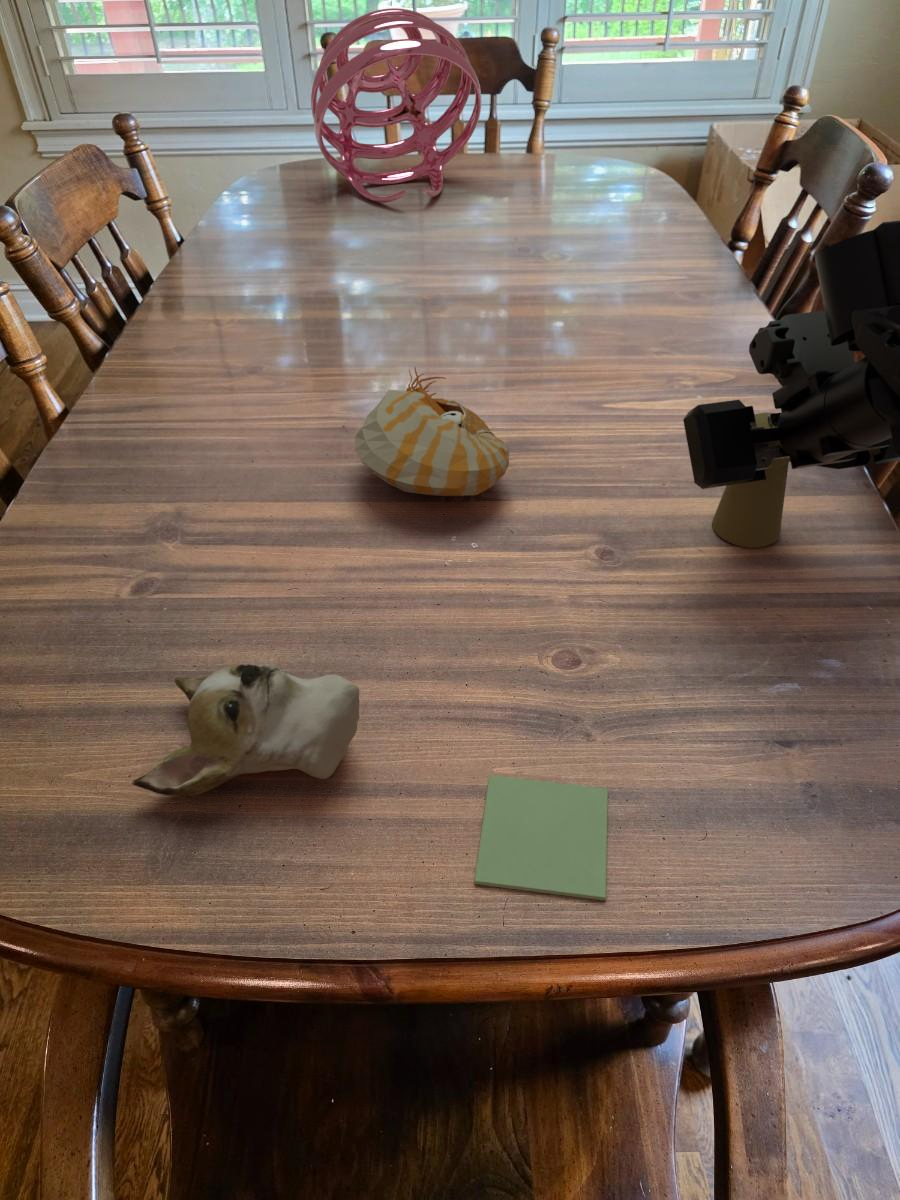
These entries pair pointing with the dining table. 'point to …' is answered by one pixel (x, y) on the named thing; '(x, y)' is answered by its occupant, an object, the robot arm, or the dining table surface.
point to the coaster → (544, 838)
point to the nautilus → (430, 444)
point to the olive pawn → (754, 504)
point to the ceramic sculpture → (257, 728)
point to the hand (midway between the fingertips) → (754, 457)
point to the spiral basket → (406, 111)
